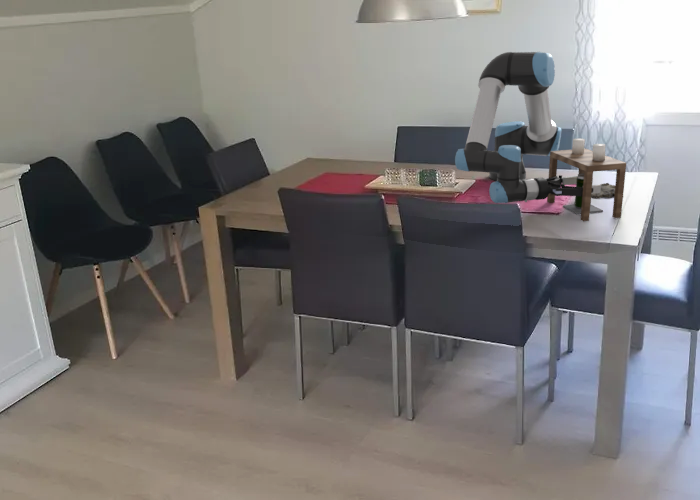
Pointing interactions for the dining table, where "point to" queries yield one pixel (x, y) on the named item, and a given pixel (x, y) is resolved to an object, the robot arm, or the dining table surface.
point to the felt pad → (578, 211)
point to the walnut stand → (590, 177)
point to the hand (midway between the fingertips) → (589, 184)
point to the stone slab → (605, 191)
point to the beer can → (579, 184)
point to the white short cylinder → (578, 146)
